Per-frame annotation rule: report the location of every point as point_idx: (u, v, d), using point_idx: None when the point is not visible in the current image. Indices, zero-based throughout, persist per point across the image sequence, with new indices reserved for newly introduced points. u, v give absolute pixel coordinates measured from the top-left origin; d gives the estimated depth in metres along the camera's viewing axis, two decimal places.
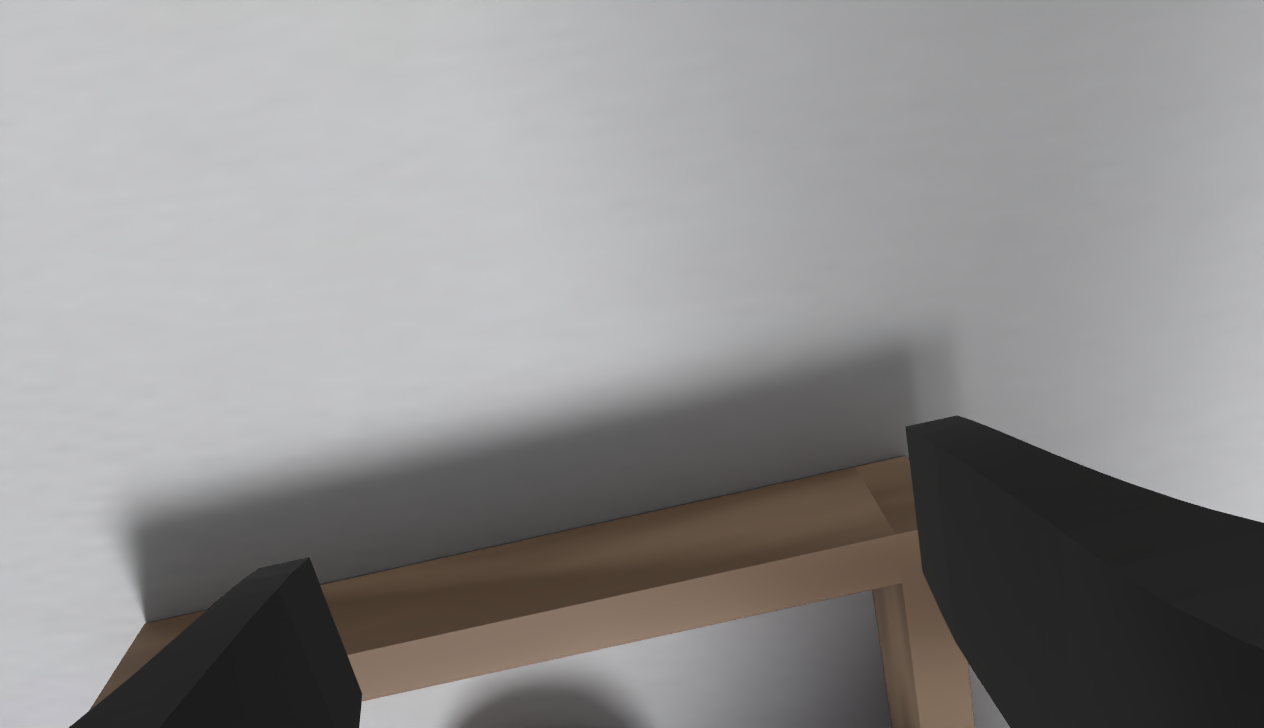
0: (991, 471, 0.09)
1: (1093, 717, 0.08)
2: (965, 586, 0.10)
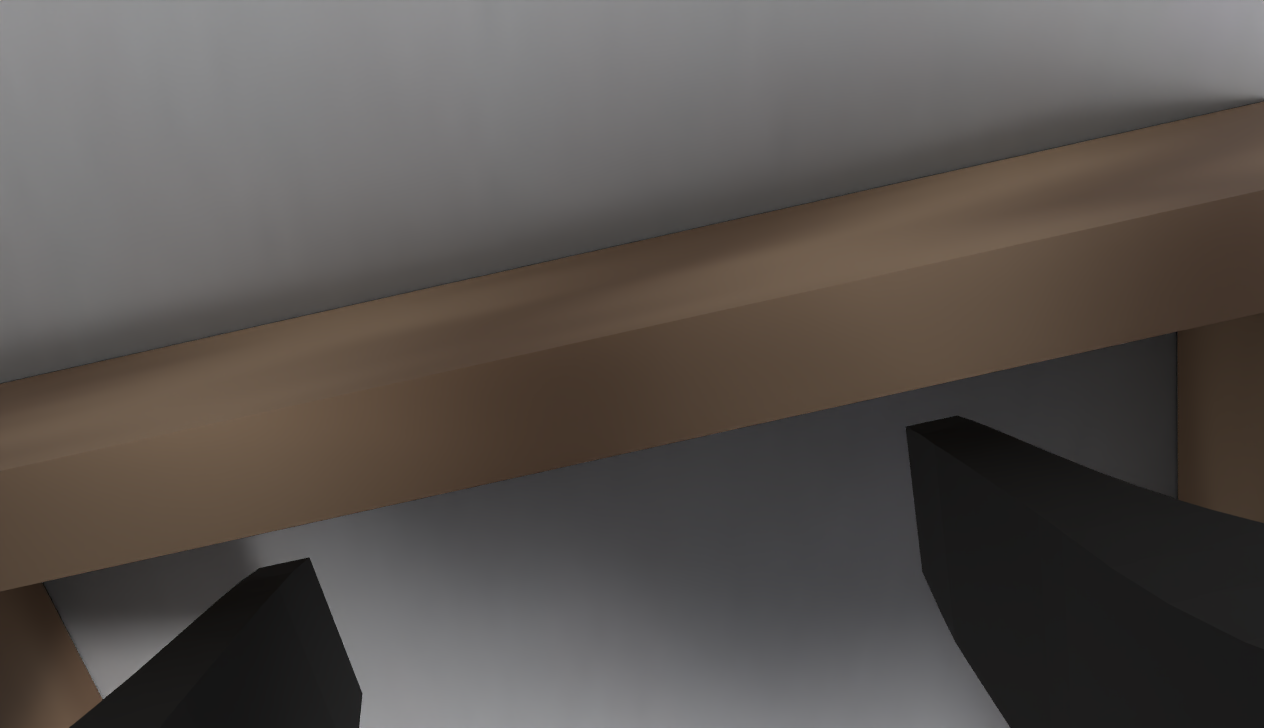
0: (991, 471, 0.09)
1: (1095, 717, 0.08)
2: (965, 585, 0.10)
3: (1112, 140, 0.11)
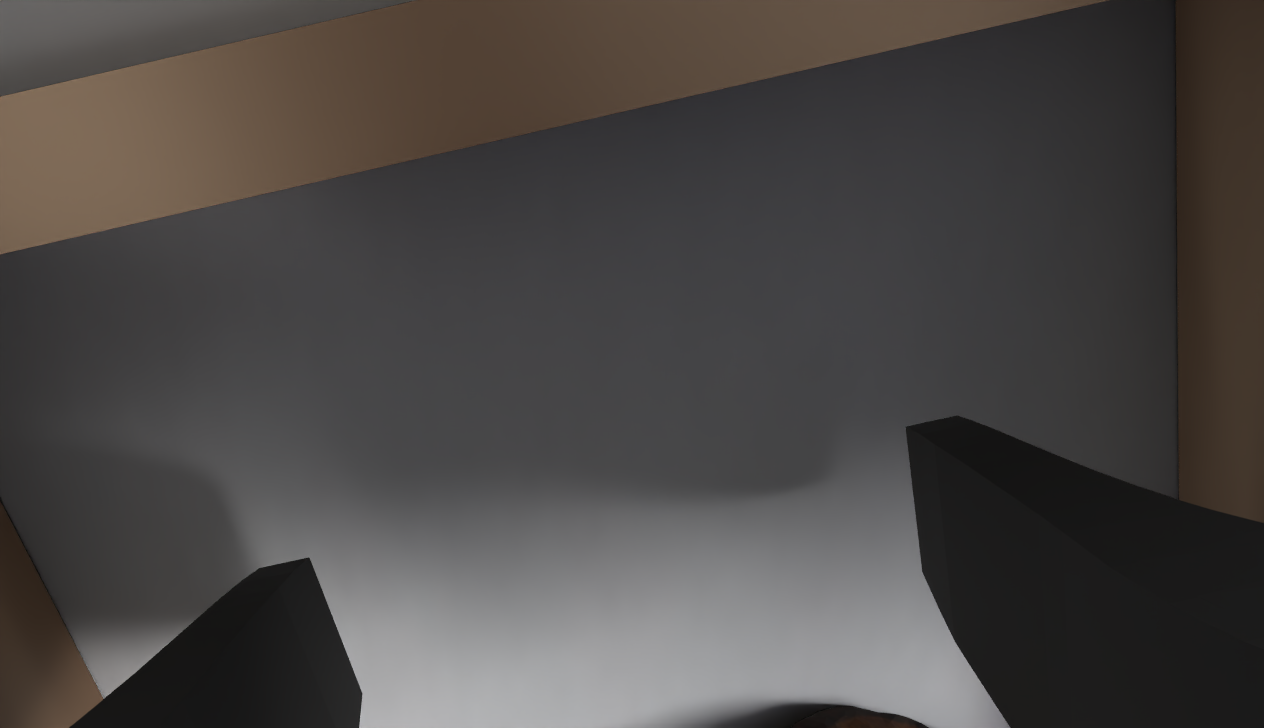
0: (991, 471, 0.09)
1: (1093, 717, 0.08)
2: (965, 585, 0.10)
3: None
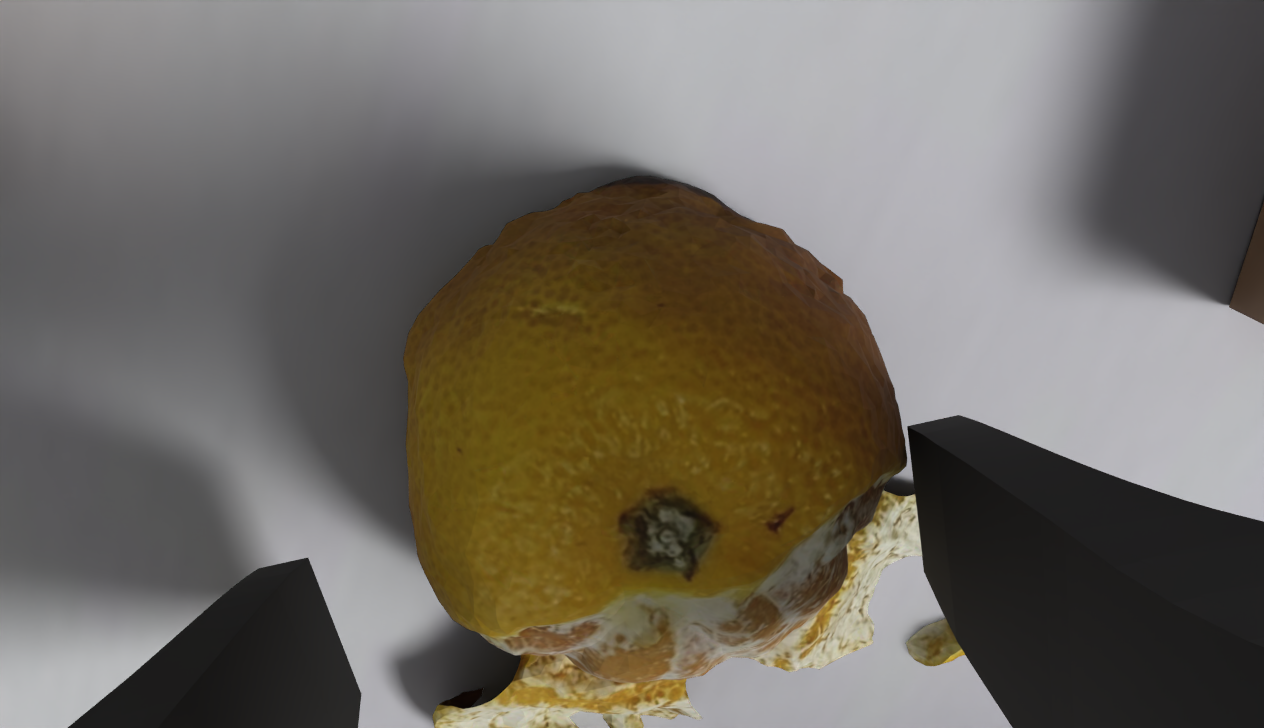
0: (993, 470, 0.09)
1: (1097, 717, 0.08)
2: (967, 585, 0.10)
3: None
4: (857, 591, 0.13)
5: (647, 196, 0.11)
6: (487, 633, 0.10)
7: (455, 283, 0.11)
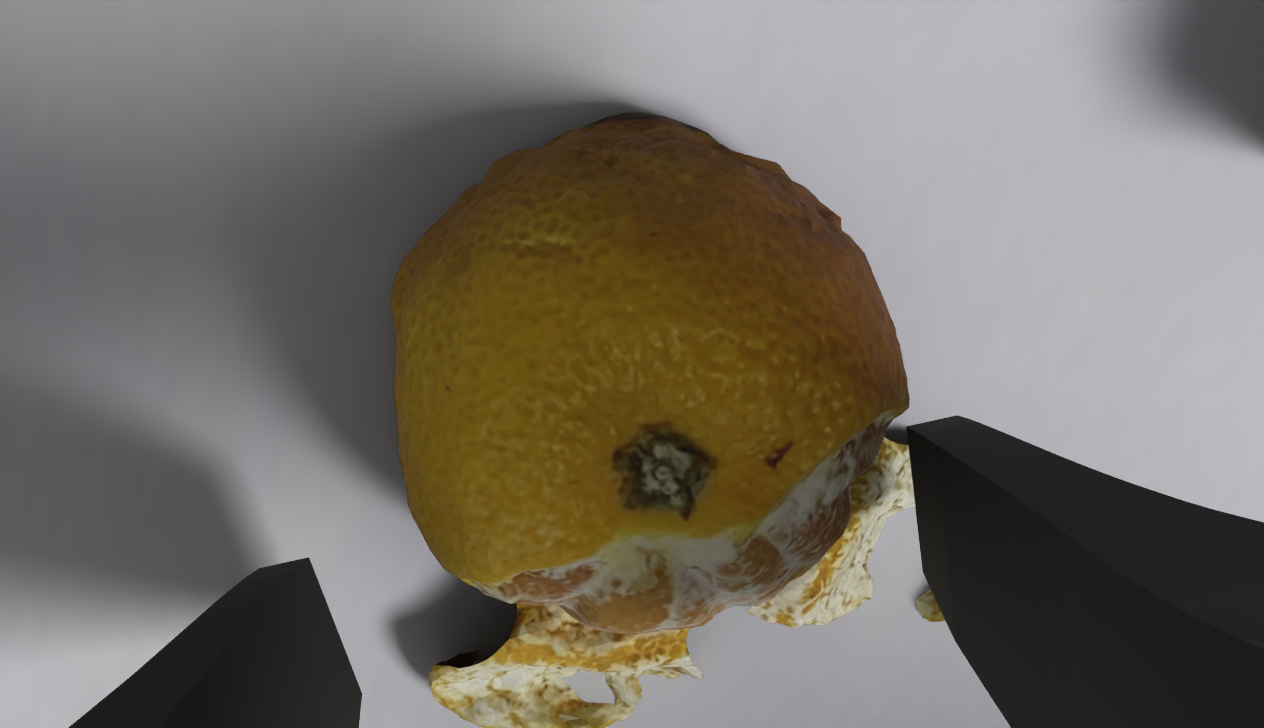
0: (992, 471, 0.09)
1: (1095, 717, 0.08)
2: (966, 586, 0.10)
3: None
4: (860, 545, 0.13)
5: (638, 132, 0.11)
6: (479, 579, 0.10)
7: (442, 223, 0.10)
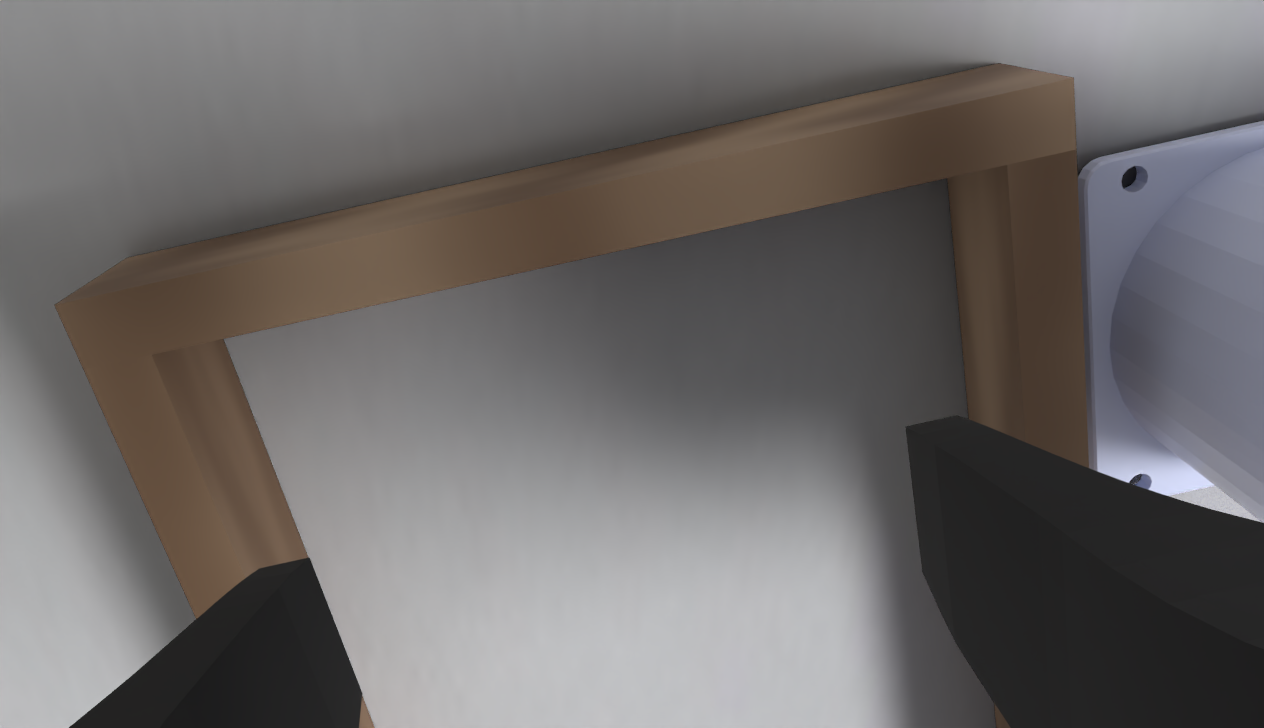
0: (991, 471, 0.09)
1: (1093, 717, 0.08)
2: (965, 586, 0.10)
3: (896, 88, 0.19)
4: None
5: None
6: None
7: None
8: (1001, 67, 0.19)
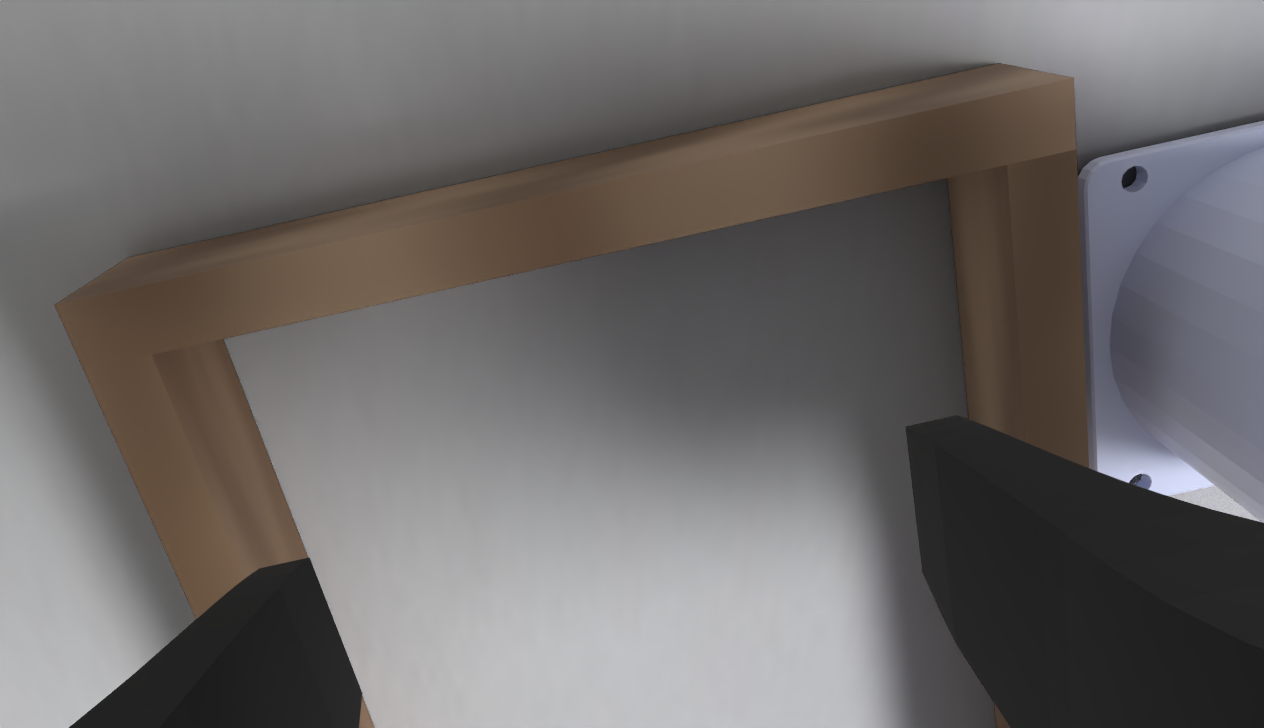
0: (991, 471, 0.09)
1: (1093, 717, 0.08)
2: (965, 586, 0.10)
3: (896, 88, 0.19)
4: None
5: None
6: None
7: None
8: (1001, 67, 0.19)
